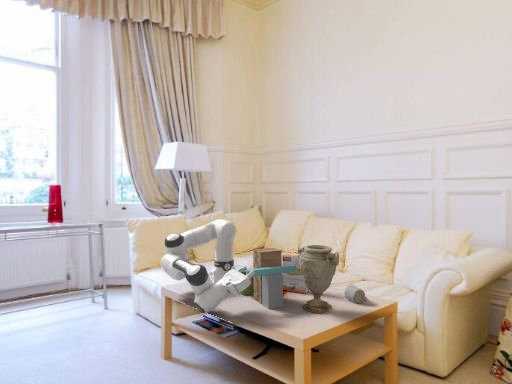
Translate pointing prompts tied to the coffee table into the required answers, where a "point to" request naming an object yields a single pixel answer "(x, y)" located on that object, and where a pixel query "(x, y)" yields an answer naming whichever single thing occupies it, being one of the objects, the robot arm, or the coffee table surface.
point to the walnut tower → (264, 266)
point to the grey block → (272, 291)
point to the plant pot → (250, 288)
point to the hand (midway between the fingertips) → (249, 269)
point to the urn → (317, 274)
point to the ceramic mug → (355, 294)
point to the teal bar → (272, 270)
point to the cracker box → (293, 274)
